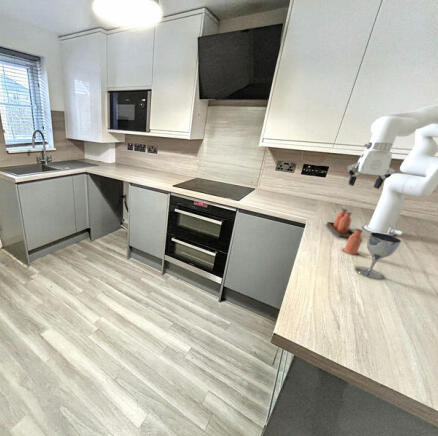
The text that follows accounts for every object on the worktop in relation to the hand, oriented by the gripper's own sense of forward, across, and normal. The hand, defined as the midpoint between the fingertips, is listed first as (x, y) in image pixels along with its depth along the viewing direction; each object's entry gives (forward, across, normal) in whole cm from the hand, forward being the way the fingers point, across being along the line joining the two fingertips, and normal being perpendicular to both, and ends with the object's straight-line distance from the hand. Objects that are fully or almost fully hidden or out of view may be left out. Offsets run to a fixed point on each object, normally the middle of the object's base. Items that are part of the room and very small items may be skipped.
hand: (363, 186), depth 107 cm
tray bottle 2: (+26, +3, +10) cm, 28 cm away
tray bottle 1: (+26, +4, +16) cm, 31 cm away
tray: (+27, +3, +10) cm, 29 cm away
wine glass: (+28, -3, -32) cm, 42 cm away
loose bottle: (+27, -2, -14) cm, 31 cm away
